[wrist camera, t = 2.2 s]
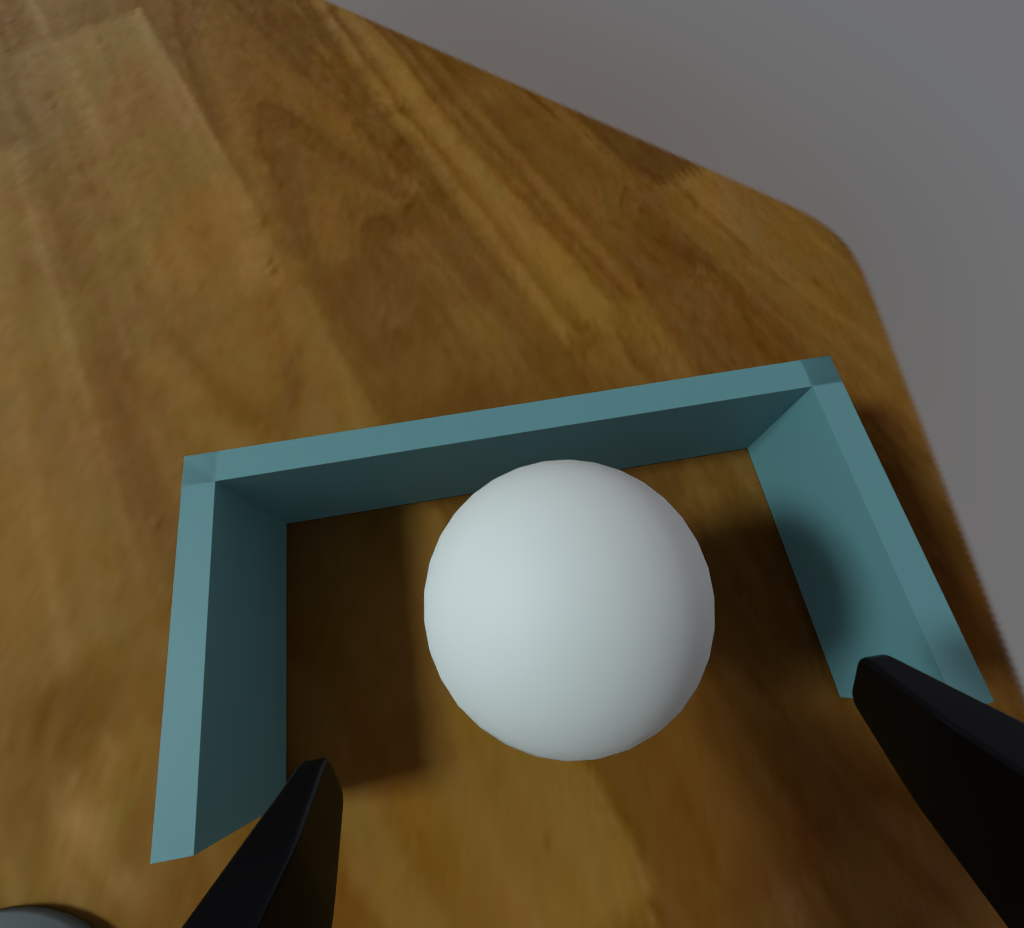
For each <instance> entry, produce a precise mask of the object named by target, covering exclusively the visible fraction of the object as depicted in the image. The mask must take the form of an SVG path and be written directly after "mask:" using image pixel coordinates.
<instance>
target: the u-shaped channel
mask: <svg viewBox="0 0 1024 928" xmlns="http://www.w3.org/2000/svg"><path fill="white" fill-rule="evenodd" d="M746 448H747V449H748V451H749V454H750V457H751V459H752V462H753V465H754V467H755V470H756V473H757V475H758V478H759V481H760V483H761V486H762V489H763V491H764V494H765V497H766V499H767V502H768V505H769V508H770V510H771V513H772V516H773V518H774V521H775V524H776V526H777V529H778V532H779V534H780V537H781V540H782V542H783V545H784V548H785V550H786V553H787V556H788V558H789V561H790V564H791V566H792V569H793V572H794V574H795V577H796V580H797V582H798V585H799V588H800V591H801V593H802V596H803V599H804V601H805V604H806V607H807V609H808V612H809V615H810V617H811V620H812V623H813V625H814V628H815V631H816V633H817V636H818V639H819V641H820V644H821V647H822V649H823V652H824V655H825V657H826V660H827V663H828V666H829V668H830V671H831V674H832V676H833V679H834V682H835V684H836V687H837V690H838V692H839V695H840V697H845V698H853V695H852V689H853V684H854V679H855V675H856V670H857V665H858V662H859V660H861V659H862V658H864V657H869V656H875V655H882V654H884V655H888V656H891V657H893V658H895V659H897V660H899V661H901V662H903V663H905V664H907V665H909V666H911V667H913V668H915V669H917V670H919V671H921V672H923V673H925V674H927V675H929V676H931V677H933V678H935V679H937V680H939V681H941V682H943V683H945V684H947V685H949V686H951V687H953V688H955V689H957V690H959V691H961V692H963V693H965V694H967V695H969V696H971V697H973V698H975V699H977V700H979V701H981V702H983V703H985V704H986V703H992V702H994V700H993V698H992V696H991V694H990V691H989V689H988V687H987V685H986V683H985V681H984V679H983V677H982V675H981V673H980V670H979V668H978V666H977V664H976V662H975V660H974V658H973V656H972V654H971V652H970V649H969V647H968V645H967V643H966V641H965V639H964V637H963V635H962V633H961V631H960V628H959V626H958V624H957V622H956V620H955V618H954V616H953V614H952V612H951V610H950V607H949V605H948V603H947V601H946V599H945V597H944V595H943V593H942V591H941V589H940V586H939V584H938V582H937V580H936V578H935V576H934V574H933V572H932V570H931V567H930V565H929V563H928V561H927V559H926V557H925V555H924V553H923V551H922V549H921V546H920V544H919V542H918V540H917V538H916V536H915V534H914V532H913V530H912V528H911V525H910V523H909V521H908V519H907V517H906V515H905V513H904V511H903V509H902V507H901V504H900V502H899V500H898V498H897V496H896V494H895V492H894V490H893V488H892V486H891V483H890V481H889V479H888V477H887V475H886V473H885V471H884V469H883V467H882V465H881V462H880V460H879V458H878V456H877V454H876V452H875V450H874V448H873V446H872V444H871V441H870V439H869V437H868V435H867V433H866V431H865V429H864V427H863V425H862V423H861V420H860V418H859V416H858V414H857V412H856V410H855V408H854V406H853V404H852V402H851V399H850V397H849V395H848V393H847V391H846V389H845V387H844V385H843V383H842V381H841V378H840V376H839V374H838V372H837V370H836V368H835V366H834V364H833V362H832V360H831V357H830V356H824V357H818V358H812V359H805V360H799V361H792V362H786V363H780V364H773V365H767V366H760V367H754V368H748V369H741V370H735V371H728V372H722V373H716V374H709V375H703V376H696V377H690V378H684V379H677V380H671V381H665V382H658V383H652V384H645V385H639V386H633V387H626V388H620V389H613V390H607V391H601V392H594V393H588V394H581V395H575V396H569V397H562V398H556V399H549V400H543V401H537V402H530V403H524V404H517V405H511V406H505V407H498V408H492V409H485V410H479V411H473V412H466V413H460V414H453V415H447V416H441V417H434V418H428V419H421V420H415V421H409V422H402V423H396V424H389V425H383V426H377V427H370V428H364V429H357V430H351V431H345V432H338V433H332V434H326V435H319V436H313V437H306V438H300V439H294V440H287V441H281V442H274V443H268V444H262V445H255V446H249V447H242V448H236V449H230V450H223V451H217V452H210V453H204V454H198V455H191V456H185V457H184V466H183V478H182V490H181V502H180V514H179V526H178V538H177V550H176V562H175V574H174V586H173V598H172V610H171V622H170V634H169V646H168V658H167V670H166V682H165V694H164V706H163V718H162V730H161V742H160V754H159V766H158V778H157V790H156V802H155V814H154V826H153V838H152V850H151V862H150V864H152V863H157V862H162V861H167V860H173V859H178V858H183V857H188V856H193V855H195V854H197V853H199V852H200V851H202V850H204V849H206V848H207V847H209V846H211V845H212V844H214V843H216V842H218V841H219V840H221V839H223V838H224V837H226V836H228V835H230V834H231V833H233V832H235V831H236V830H238V829H240V828H241V827H243V826H245V825H247V824H248V823H250V822H252V821H253V820H255V819H257V818H259V817H260V816H262V815H264V813H265V812H266V810H267V809H268V808H269V806H270V805H271V804H272V802H273V801H274V799H275V798H276V797H277V795H278V794H279V792H280V791H281V790H282V788H283V787H284V786H285V784H286V524H288V523H294V522H300V521H306V520H312V519H318V518H324V517H331V516H337V515H343V514H349V513H355V512H361V511H367V510H373V509H379V508H385V507H392V506H398V505H404V504H410V503H416V502H422V501H428V500H434V499H440V498H447V497H453V496H459V495H465V494H471V493H475V492H477V491H478V490H480V489H481V488H482V487H484V486H485V485H487V484H488V483H489V482H491V481H492V480H494V479H495V478H498V477H500V476H502V475H504V474H506V473H508V472H511V471H513V470H515V469H517V468H520V467H523V466H527V465H531V464H535V463H539V462H543V461H555V460H578V461H586V462H595V463H598V464H601V465H605V466H608V467H611V468H615V469H624V468H630V467H636V466H642V465H648V464H654V463H660V462H666V461H673V460H679V459H685V458H691V457H697V456H703V455H709V454H715V453H721V452H727V451H734V450H740V449H746Z"/></svg>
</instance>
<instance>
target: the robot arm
mask: <svg viewBox="0 0 1024 928" xmlns="http://www.w3.org/2000/svg"><path fill="white" fill-rule="evenodd" d="M852 695H853V700H854V703H855V705H856V707H857V709H858V710H859V712H860V714H861V715H862V717H863V719H864V720H865V722H866V723H867V725H868V727H869V728H870V730H871V731H872V733H873V735H874V736H875V738H876V740H877V741H878V743H879V744H880V746H881V748H882V749H883V751H884V752H885V754H886V756H887V757H888V759H889V761H890V762H891V764H892V765H893V767H894V769H895V770H896V772H897V774H898V775H899V777H900V778H901V780H902V782H903V783H904V785H905V786H906V788H907V789H908V791H909V792H910V794H911V796H912V797H913V799H914V800H915V802H916V803H917V804H918V806H919V807H920V809H921V810H922V811H923V813H924V814H925V816H926V817H927V818H928V820H929V821H930V822H931V824H932V825H933V826H934V828H935V829H936V831H937V832H938V833H939V835H940V836H941V837H942V839H943V840H944V841H945V843H946V844H947V845H948V847H949V848H950V849H951V851H952V852H953V854H954V855H955V856H956V858H957V859H958V860H959V862H960V863H961V864H962V866H963V867H964V868H965V870H966V871H967V872H968V874H969V875H970V877H971V878H972V879H973V881H974V882H975V883H976V885H977V886H978V887H979V889H980V890H981V891H982V893H983V894H984V896H985V897H986V898H987V900H988V901H989V902H990V904H991V905H992V906H993V908H994V909H995V910H996V912H997V913H998V914H999V916H1000V917H1001V919H1002V920H1003V921H1004V923H1005V924H1006V925H1007V927H1008V928H1024V723H1023V722H1021V721H1019V720H1017V719H1015V718H1013V717H1011V716H1009V715H1007V714H1005V713H1003V712H1001V711H999V710H997V709H995V708H993V707H991V706H989V705H987V704H985V703H983V702H981V701H979V700H977V699H975V698H973V697H971V696H969V695H967V694H965V693H963V692H961V691H959V690H957V689H955V688H953V687H951V686H949V685H947V684H945V683H943V682H941V681H939V680H937V679H935V678H933V677H931V676H929V675H927V674H925V673H923V672H921V671H919V670H917V669H915V668H913V667H911V666H909V665H907V664H905V663H903V662H901V661H899V660H897V659H895V658H893V657H891V656H888V655H884V654H882V655H875V656H869V657H864V658H862V659H861V660H859V662H858V665H857V670H856V675H855V679H854V684H853V689H852ZM342 811H343V793H342V789H341V786H340V784H339V781H338V779H337V777H336V774H335V772H334V770H333V767H332V765H331V763H330V761H329V760H328V759H326V758H322V759H316V760H311V761H306V762H303V763H302V764H301V765H300V766H298V768H297V769H296V770H295V772H294V773H293V774H292V776H291V777H290V779H289V780H288V781H287V783H286V784H285V786H284V787H283V788H282V790H281V791H280V792H279V794H278V795H277V797H276V798H275V799H274V801H273V802H272V804H271V805H270V806H269V808H268V809H267V810H266V812H265V813H264V815H263V816H262V817H261V819H260V820H259V822H258V823H257V824H256V826H255V827H254V828H253V830H252V831H251V833H250V834H249V835H248V837H247V838H246V840H245V841H244V842H243V844H242V845H241V846H240V848H239V849H238V851H237V852H236V853H235V855H234V856H233V858H232V859H231V860H230V862H229V863H228V864H227V866H226V867H225V869H224V870H223V871H222V873H221V874H220V876H219V877H218V878H217V880H216V881H215V882H214V884H213V885H212V887H211V888H210V889H209V891H208V892H207V894H206V895H205V896H204V898H203V899H202V900H201V902H200V903H199V905H198V906H197V907H196V909H195V910H194V912H193V913H192V914H191V916H190V917H189V918H188V920H187V921H186V923H185V924H184V925H183V927H182V928H332V922H333V914H334V904H335V894H336V882H337V870H338V859H339V847H340V835H341V823H342Z"/></svg>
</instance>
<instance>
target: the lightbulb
mask: <svg viewBox="0 0 1024 928" xmlns="http://www.w3.org/2000/svg"><path fill="white" fill-rule="evenodd" d="M424 624H425V629H426V634H427V639H428V645H429V650H430V653H431V655H432V658H433V660H434V663H435V665H436V668H437V670H438V673H439V675H440V678H441V680H442V681H443V683H444V684H445V686H446V688H447V689H448V691H449V692H450V694H451V695H452V697H453V698H454V700H455V701H456V703H457V704H458V706H459V707H460V708H461V709H462V710H463V711H464V712H465V713H466V714H467V715H468V716H469V717H470V718H471V719H472V720H473V721H474V722H475V723H476V724H477V725H478V726H479V727H480V728H482V729H483V730H485V731H486V732H488V733H489V734H491V735H492V736H494V737H495V738H497V739H498V740H500V741H501V742H503V743H504V744H506V745H508V746H510V747H513V748H515V749H518V750H520V751H523V752H526V753H528V754H531V755H533V756H536V757H542V758H549V759H555V760H562V761H578V760H593V759H600V758H603V757H607V756H610V755H613V754H616V753H620V752H623V751H626V750H629V749H631V748H633V747H635V746H636V745H638V744H640V743H641V742H643V741H645V740H647V739H648V738H650V737H652V736H654V735H655V734H657V733H658V732H659V731H661V730H662V729H663V728H664V727H665V726H666V725H667V724H668V723H669V722H670V721H671V720H672V719H673V718H674V717H676V716H677V715H678V714H679V713H680V712H681V710H682V709H683V707H684V706H685V705H686V703H687V702H688V700H689V699H690V697H691V696H692V694H693V693H694V691H695V690H696V689H697V687H698V685H699V682H700V680H701V677H702V675H703V673H704V670H705V668H706V665H707V663H708V660H709V657H710V652H711V646H712V641H713V636H714V630H715V614H714V593H713V588H712V584H711V579H710V574H709V569H708V566H707V563H706V561H705V559H704V556H703V554H702V551H701V549H700V546H699V544H698V541H697V540H696V538H695V537H694V535H693V534H692V532H691V530H690V529H689V527H688V526H687V524H686V523H685V521H684V520H683V518H682V517H681V516H680V515H679V514H678V513H677V511H676V510H675V509H674V508H673V507H672V506H671V505H670V504H669V503H668V502H667V501H666V500H665V499H664V498H663V497H662V496H661V495H659V494H658V493H657V492H655V491H654V490H653V489H651V488H650V487H649V486H648V485H646V484H645V483H644V482H642V481H640V480H638V479H636V478H634V477H632V476H630V475H628V474H626V473H624V472H622V471H620V470H618V469H615V468H611V467H608V466H605V465H601V464H598V463H595V462H586V461H578V460H555V461H543V462H539V463H535V464H531V465H527V466H523V467H520V468H517V469H515V470H513V471H511V472H508V473H506V474H504V475H502V476H500V477H498V478H495V479H494V480H492V481H491V482H489V483H488V484H487V485H485V486H484V487H482V488H481V489H480V490H478V491H477V492H475V493H474V494H473V495H472V496H471V497H470V498H469V499H468V500H467V501H466V502H465V503H464V504H463V505H462V506H461V507H460V508H459V509H458V510H457V512H456V513H455V514H454V515H453V517H452V518H451V520H450V522H449V523H448V525H447V526H446V528H445V529H444V531H443V532H442V534H441V536H440V538H439V540H438V543H437V545H436V548H435V550H434V553H433V555H432V558H431V560H430V564H429V569H428V574H427V580H426V585H425V590H424Z"/></svg>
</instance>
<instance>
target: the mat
mask: <svg viewBox="0 0 1024 928" xmlns="http://www.w3.org/2000/svg"><path fill="white" fill-rule="evenodd" d="M0 928H93V927H92V926H90V925H89V924H88V923H86V922H84V921H82V920H80V919H79V918H77V917H75V916H73V915H71V914H68V913H65V912H62V911H58V910H55V909H52V908H44V907H36V906H21V907H8V908H3V909H0Z"/></svg>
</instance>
